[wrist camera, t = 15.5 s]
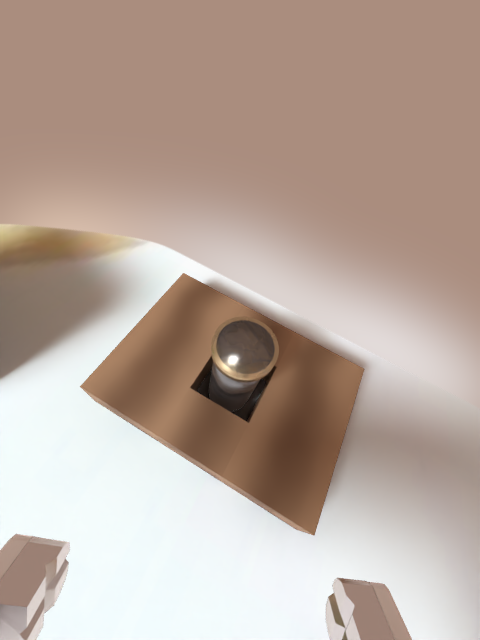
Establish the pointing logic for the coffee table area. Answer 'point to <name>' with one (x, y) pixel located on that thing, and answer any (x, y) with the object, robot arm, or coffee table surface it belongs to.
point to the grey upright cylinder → (240, 360)
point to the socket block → (220, 424)
